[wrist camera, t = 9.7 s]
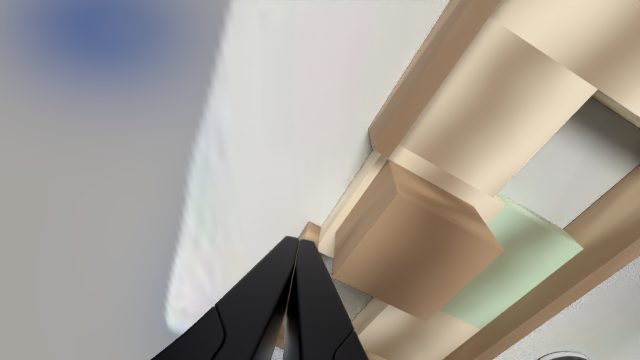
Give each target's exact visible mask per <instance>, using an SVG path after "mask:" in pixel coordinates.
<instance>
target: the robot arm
mask: <svg viewBox="0 0 640 360" xmlns="http://www.w3.org/2000/svg"><path fill="white" fill-rule="evenodd" d="M298 245H299V247H298ZM297 251H298V253H297ZM296 256H297V258H296ZM295 261H296V263H295ZM294 267H295V268H294ZM293 272H294V274H293ZM292 277H293V279H292ZM291 282H292V284H291ZM290 288H291V290H290ZM289 293H290V295H289ZM288 298H289V300H288ZM287 303H288V305H287ZM286 308H287V312H286ZM285 313H286V321H285V336H284V352H283V360H369V358H368V356H367V354H366V352H365V350H364V348H363V346H362V344H361V342H360V340H359V337H358V335H357V333H356V332H355V331H354V327H353V325H352V323H351V320H350V318H349V316H348V314H347V312H346V310H345V307H344V305H343V303H342V301H341V299H340V297H339V294H338V292H337V290H336V288H335V286H334V284H333V281H332V279H331V277H330V275H329V273H328V271H327V268H326V266H325V264H324V262H323V260H322V258H321V255H320V253H319V251H318V249H317V247H316V245H315V243H314V241H312V240H307V239H300V242H299V238H296V237H291V236H286V237H284V238H283V239H282V240H281V241H280V242H279V243H278V244H277V245H276V246H275V247H274V248H273V249H272V250H271V251H270V252H269V253H268V254H267V255H266V256H265V257H264V258H263V259H262V260H261V261H260V262H259V263H257V264H256V265H255V266H254V267H253V268H252V269H251V270H250V271H249V272H248V273H247V274H246V275H245V276H244V277H243V278H242V279H241V280H240V281H239V282H238V283H237V284H236V285H235V286H234V287H233V288H232V289H230V290H229V291H228V292H227V293H226V294H225V295H224V296H223V297H222V298H221V299H220V300H219V301H218V302H217V303H216V304H215V307H214V306H213V307H212V308H211V309H210V310H209V311H207V312H206V313H205V314H204V315H203V316H202V317H201V318H200V319H199V320H198V321H197V322H196V323H195V324H194V325H192V326H191V327H190V328H189V329H188V330H187V331H186V332H185V333H183V334H182V335H181V336H180V337H179V338H177V339H176V340H175V341H174V342H172V343H171V344H170V345H169V346H167V347H166V348H165V349H164V350H162V351H161V352H160V353H159V354H157V355H156V356H155V357H153V358H152V359H151V360H271V358H272V354H273V351H274V348H275V345H276V342H277V339H278V336H279V333H280V329H281V326H282V323H283V320H284V316H285Z"/></svg>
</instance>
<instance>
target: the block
mask: <svg viewBox="0 0 640 360" xmlns="http://www.w3.org/2000/svg"><path fill="white" fill-rule="evenodd" d="M503 251H504V249H503V248H502V246H501V245H500V244H499V242H498V241H497V239H496V238H495V236H494V235H493V233H492V232H491V231H490V229H489V228H488V226H487V225H486V223H485V222H484V221H483V219H482V218H481V216H480V215H479V213H478V212H477V210H476V209H475V208H474V206H472V205H470V204H469V203H467V202H465V201H463V200H461V199H460V198H458V197H456V196H454V195H452V194H451V193H449V192H447V191H445V190H443V189H442V188H440V187H438V186H436V185H434V184H433V183H431V182H429V181H427V180H425V179H424V178H422V177H420V176H418V175H416V174H415V173H413V172H411V171H409V170H407V169H406V168H404V167H402V166H400V165H398V164H397V163H395V162H393V161H391V160H389V159H388V160H387V161H386V162H385V164H384V165H383V167H382V168H381V169H380V171H379V172H378V174H377V175H376V176H375V178H374V179H373V181H372V182H371V183H370V185H369V186H368V188H367V189H366V190H365V192H364V193H363V195H362V196H361V197H360V199H359V200H358V202H357V203H356V204H355V206H354V207H353V209H352V210H351V211H350V213H349V214H348V216H347V217H346V218H345V220H344V221H343V223H342V224H341V225H340V227H339V228H338V230H337V231H336V233H335V247H334V260H333V274H332V278H334V279H336V280H338V281H340V282H343V283H345V284H347V285H349V286H351V287H353V288H355V289H357V290H359V291H362V292H364V293H366V294H368V295H370V296H372V297H374V298H376V299H379V300H381V301H383V302H385V303H387V304H389V305H391V306H393V307H395V308H398V309H400V310H402V311H404V312H406V313H408V314H410V315H412V316H414V317H417V318H419V319H421V320H423V321H425V322H426V321H427V320H428V319H429V318H430V317H431V316H432V315H433V314H434V313H436V312H437V311H438V310H439V309H440V308H441V307H442V306H443V305H444V304H446V303H447V302H448V301H449V300H450V299H451V298H452V297H453V296H454V295H456V294H457V293H458V292H459V291H460V290H461V289H462V288H463V287H464V286H466V285H467V284H468V283H469V282H470V281H471V280H472V279H473V278H474V277H476V276H477V275H478V274H479V273H480V272H481V271H482V270H483V269H484V268H486V267H487V266H488V265H489V264H490V263H491V262H492V261H493V260H494V259H496V258H497V257H498V256H499V255H500V254H501V253H502V252H503Z"/></svg>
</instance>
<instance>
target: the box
mask: <svg viewBox="0 0 640 360" xmlns="http://www.w3.org/2000/svg"><path fill="white" fill-rule="evenodd" d="M591 96H592V97H593V98H595V99H596V100H598V101H599V102H601V103H602V104H604V105H605V106H607V107H608V108H610V109H611V110H613V111H614V112H616V113H617V114H619V115H620V116H622V117H623V118H625V119H626V120H628V121H630V122H631V123H633V124H634V125H636V126H637V127H639V128H640V0H450V2H449V3H448V5H447V6H446V8H445V10H444V11H443V13H442V14H441V16H440V17H439V19H438V21H437V22H436V24H435V25H434V27H433V28H432V30H431V31H430V33H429V35H428V36H427V38H426V39H425V41H424V42H423V44H422V46H421V47H420V49H419V50H418V52H417V53H416V55H415V56H414V58H413V60H412V61H411V63H410V64H409V66H408V67H407V69H406V71H405V72H404V74H403V75H402V77H401V78H400V80H399V81H398V83H397V85H396V86H395V88H394V89H393V91H392V92H391V94H390V95H389V97H388V99H387V100H386V102H385V103H384V105H383V106H382V108H381V110H380V111H379V113H378V114H377V116H376V117H375V119H374V120H373V122H372V124H371V125H370V127H369V128H368V129H369V135H370V140H371V146H372V149H373V151H372V152H371V154H370V155H369V157H368V158H367V160H366V161H365V163H364V164H363V166H362V167H361V169H360V170H359V172H358V173H357V175H356V176H355V178H354V179H353V181H352V182H351V184H350V185H349V186H348V188H347V189H346V191H345V192H344V194H343V195H342V197H341V198H340V200H339V201H338V203H337V204H336V206H335V207H334V209H333V210H332V212H331V213H330V215H329V216H328V218H327V219H326V221H325V222H324V224H323V225H322V227H319V226H317V225H315V224H313V223H311V222H308V224H307V225H306V227H305V228H304V230H303V231H302V233H301V234H300V236H299V242H300V239H307V240H312V241H314V243H315V245H316V247H317V249H318V251H319V252H320V253H323V254H325V255H327V256H329V257H331V258H333V259H334V247H335V233H336V231H337V230H338V228H339V227H340V225H341V224H342V223H343V221H344V220H345V218H346V217H347V216H348V214H349V213H350V211H351V210H352V209H353V207H354V206H355V204H356V203H357V202H358V200H359V199H360V197H361V196H362V195H363V193H364V192H365V190H366V189H367V188H368V186H369V185H370V183H371V182H372V181H373V179H374V178H375V176H376V175H377V174H378V172H379V171H380V169H381V168H382V167H383V165H384V164H385V162H386V161H387V160H388V159H389V160H391V161H393V162H395V163H397V164H398V165H400V166H402V167H404V168H406V169H407V170H409V171H411V172H413V173H415V174H416V175H418V176H420V177H422V178H424V179H425V180H427V181H429V182H431V183H433V184H434V185H436V186H438V187H440V188H442V189H443V190H445V191H447V192H449V193H451V194H452V195H454V196H456V197H458V198H460V199H461V200H463V201H465V202H467V203H469V204H470V205H472V206H474V208H475V209H476V210H477V212H478V213H479V215H480V216H481V218H482V219H483V221H484V222H485V223H486V225H487V226H488V228H489V229H490V231H491V232H492V233H493V235H494V236H495V238H496V239H497V241H498V242H499V244H500V245H501V246H502V248H503V249H504V251H503V252H502V253H501V254H500V255H499V256H498V257H497V258H496V259H494V260H493V261H492V262H491V263H490V264H489V265H488V266H487V267H486V268H484V269H483V270H482V271H481V272H480V273H479V274H478V275H477V276H476V277H474V278H473V279H472V280H471V281H470V282H469V283H468V284H467V285H466V286H464V287H463V288H462V289H461V290H460V291H459V292H458V293H457V294H456V295H454V296H453V297H452V298H451V299H450V300H449V301H448V302H447V303H446V304H444V305H443V306H442V307H441V308H440V309H439V310H438V311H437V312H436V313H434V314H433V315H432V316H431V317H430V318H429V319H428V320H427V321H426V322H425V321H423V320H421V319H419V318H417V317H414V316H412V315H410V314H408V313H406V312H404V311H402V310H400V309H398V308H395V307H393V306H391V305H389V304H387V303H385V302H383V301H381V300H379V299H376V298H373V299H372V300H371V301H370V302H369V303H368V304H367V305H366V306H365V308H364V309H363V310H362V311H361V312H360V313H359V314H358V315H357V316H356V317H355V318H354V320H353V321H352V322H351V323H352V325H353V327H354V331H355V332H356V333H357V335H358V337H359V340H360V342H361V344H362V346H363V348H364V350H365V352H366V354H367V356H368V358H369V360H492V359H494V358H495V357H497V356H498V355H500V354H501V353H502V352H504V351H505V350H507V349H508V348H510V347H511V346H512V345H514V344H515V343H517V342H518V341H519V340H521V339H522V338H524V337H525V336H527V335H528V334H529V333H531V332H532V331H534V330H535V329H536V328H538V327H539V326H541V325H542V324H544V323H545V322H546V321H548V320H549V319H551V318H552V317H554V316H555V315H556V314H558V313H559V312H561V311H562V310H563V309H565V308H566V307H568V306H569V305H571V304H572V303H573V302H575V301H576V300H578V299H579V298H580V297H582V296H583V295H585V294H586V293H588V292H589V291H590V290H592V289H593V288H595V287H596V286H598V285H599V284H600V283H602V282H603V281H605V280H606V279H607V278H609V277H610V276H612V275H613V274H615V273H616V272H617V271H619V270H620V269H622V268H623V267H624V266H626V265H627V264H629V263H630V262H632V261H633V260H634V259H636V258H637V257H639V256H640V165H639V166H637V167H636V168H635V169H634V170H633V171H632V172H630V173H629V174H628V175H627V176H626V177H624V178H623V179H622V180H621V181H620V182H619V183H617V184H616V185H615V186H614V187H613V188H611V189H610V190H609V191H608V192H607V193H606V194H604V195H603V196H602V197H601V198H600V199H598V200H597V201H596V202H595V203H594V204H593V205H591V206H590V207H589V208H588V209H587V210H585V211H584V212H583V213H582V214H581V215H580V216H578V217H577V218H576V219H575V220H574V221H572V222H571V223H570V224H569V225H568V226H567V227H565V228H564V229H561V228H560V227H558V226H556V225H554V224H553V223H551V222H549V221H547V220H545V219H544V218H542V217H540V216H538V215H537V214H535V213H533V212H531V211H530V210H528V209H526V208H524V207H523V206H521V205H519V204H517V203H516V202H514V201H512V200H510V199H509V198H507V197H505V196H503V195H501V194H500V193H498V192H499V191H500V190H501V189H502V188H503V187H504V185H505V184H506V183H507V182H508V181H509V180H510V179H511V178H512V177H513V176H514V175H515V174H516V173H517V172H518V171H519V170H520V169H521V168H522V167H523V166H524V165H525V164H526V163H527V162H528V161H529V160H530V159H531V158H532V157H533V156H534V155H535V154H536V153H537V151H538V150H539V149H540V148H541V147H542V146H543V145H544V144H545V143H546V142H547V141H548V140H549V139H550V138H551V137H552V136H553V135H554V134H555V133H556V132H557V131H558V130H559V129H560V128H561V127H562V126H563V125H564V124H565V123H566V122H567V121H568V120H569V119H570V117H571V116H572V115H573V114H574V113H575V112H576V111H577V110H578V109H579V108H580V107H581V106H582V105H583V104H584V103H585V102H586V101H587V100H588V99H589V98H590V97H591ZM298 247H299V245H298ZM297 253H298V251H297ZM296 258H297V256H296ZM295 263H296V261H295ZM294 268H295V267H294ZM293 274H294V272H293ZM292 279H293V277H292ZM291 284H292V282H291ZM290 290H291V288H290ZM289 295H290V293H289ZM288 300H289V298H288ZM287 305H288V303H287ZM286 312H287V308H286ZM285 321H286V313H285V316H284V320H283V323H282V326H281V329H280V333H279V336H278V339H277V342H276V345H275V346H277V347H279V348H281V349H284V336H285Z"/></svg>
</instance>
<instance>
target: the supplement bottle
mask: <svg viewBox="0 0 640 360" xmlns="http://www.w3.org/2000/svg"><path fill="white" fill-rule="evenodd" d="M539 360H589V359H588V358H587V357H586V356H584V355H582V354H579V353H575V352H557V353H552V354H549V355H546V356H544V357H542V358H541V359H539Z"/></svg>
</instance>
